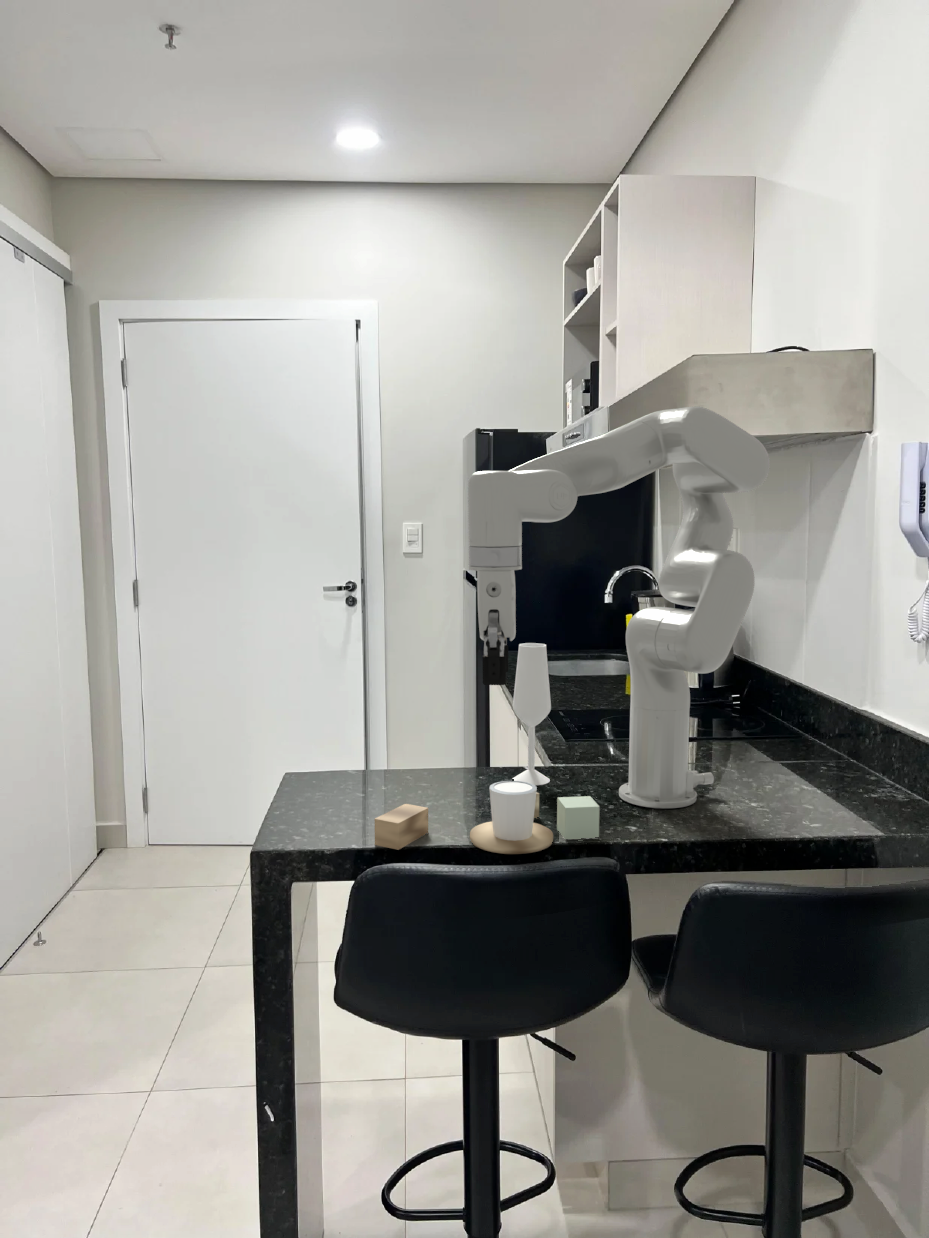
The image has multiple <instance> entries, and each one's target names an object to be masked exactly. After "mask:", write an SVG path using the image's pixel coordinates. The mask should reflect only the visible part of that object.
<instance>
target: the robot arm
mask: <svg viewBox="0 0 929 1238" xmlns="http://www.w3.org/2000/svg"><path fill="white" fill-rule="evenodd" d="M770 461H771V460H770V456H769V453H768V451H767V449H766V447H765V446H764V444H763V443H762V442H761V441H760V440H759V439H758V438H756V437H755V436H754V435H752V434H750V433H749V432H748V431H747V430H744V429H743V428H741V426H738V425H737V424H735V423H734V422H732V421H731V420H729V419H728V418H726V417H724V416H722V415H721V414H719V413H717V412H715V411H713V410H711V409H709V408H705V407H703V406H685V407H678V408H670V409H663V410H662V409H661V410H657V411H654V412H651V413H648V414H646V415H643V416H641V417H639V418H637V419H634V420H632V421H630V422H628V423H626V424H623V425H621V426H619V427H617V428H615V429H612V430H610V431H607V432H606V433H603V434H601V435H599V436H596V437H594V438H589V439H587V440H584V441H581V442H578V443H576V444H573V445H570V446H569V447H565V448H563V449H560V450H556V451H553V452H550V453H547V454H545V455H542V456H540V457H537V458H534V459H532V460H529V461H527V462H525V463H523V464H520V465H518V466H516V467H514V468H512V469H509V470H482V471H481V470H480V471H475V472H473V473H472V474H471V475H470V476H469V478H468V484H467V485H468V487H467V493H468V494H467V495H468V497H467V499H468V500H467V503H468V506H467V507H468V511H467V512H468V513H467V514H468V515H467V516H468V521H467V522H468V570H469V571H476V572H477V573H476V574H477V575H476V577H477V578H476V580H477V585H476V586H477V587H476V588H477V589H476V590H477V613H478V614H477V617H478V628H479V629H478V630H479V631H478V632H479V638H480V639H481V641H483V643H484V644H483V655H482V684H483V685H484V686H504V685H506V683H507V672H509V645H507V644H508V639H507V638H509V641H510V642H512V641H513V640H514V639H515V638H516V635H517V634H516V633H517V630H516V629H517V628H516V627H517V625H516V624H517V623H516V621H517V619H516V617H517V614H516V611H517V608H516V607H517V604H516V599H517V598H516V597H517V595H516V592H517V591H516V574H515V571H519V570H522V569H523V561H522V560H523V557H522V556H523V555H522V554H523V551H522V550H523V549H522V548H523V546H522V545H523V544H522V543H523V537H522V536H523V534H522V533H523V525H522V524H523V523H524V522H529V523H530V522H531V523H554V522H558V521H561V520H563V519H565V518H566V517H568V516H569V515H570V514H571V513H572V512H573V511H574V509H575V507H576V505H577V503H578V502H577V501H578V497H580V496H581V497H582V496H589V495H596V494H602V493H607V492H612V491H615V490H618V489H619V490H620V489H621V488H622V489H623V488H625V486H627V485H629V484H631V483H633V482H636V481H637V480H639V479H641V478H643V477H645V476H647V475H649V474H652V473H654V472H656V471H658V470H660V469H662V468H664V467H667V466H671V465H672V475H673V479H674V481H675V484H676V487H677V489H678V492H679V496H680V499H681V503H682V518H681V519H682V520H681V523H680V524H679V528H678V531H677V533H676V535H675V538H674V540H673V542H672V544H671V546H670V549H669V552H668V553H667V556H666V559H665V561H664V562H663V565H662V568H661V571H660V573H659V578H658V590H659V592H660V593H659V594H660V596H662V597H663V598H664V599H665V600H666V601H668V602H670V603H673V604H675V605H680V606H685V607H691V608H692V607H693V608H694V610H688V609H682V608H677V607H676V608H674V607H667V606H666V607H664V606H650V607H646V608H643V609H641V610H639V611H637V612H636V613H634V615H633V616H632V617H631V618H630V620H629V622H628V624H627V626H626V630H625V646H626V653H627V658H628V659H627V660H628V663H629V673H630V674H629V675H630V676H629V677H630V704H629V706H630V708H629V746H628V747H629V749H628V751H629V752H628V782H625V783H624V784H622V785H620V787H619V788H618V796H619V798H620V799H621V800H623V801H624V802H626V803H628V804H631V805H634V806H635V805H636V806H639V807H642V808H644V807H645V808H651V809H679V808H684V807H688V806H691V805H693V804H694V803H696V802H697V797H698V796H697V795H698V794H697V792H696V790H695V789H694V788H697V786H698V785H701V786H703V785H705V786H706V785H711V784H714V782H715V777H714V775H713V773H712V772H711V771H710V772H702V773H701V772H700V773H699V772H698V770H690V769H689V743H690V742H689V737H690V735H689V734H690V733H689V732H690V707H691V693H690V692H691V690H690V687H689V686H690V685H689V682H688V679H687V676H686V673H685V672H687V673H694V674H700V675H701V674H709V673H713V672H714V671H716V670H718V669H719V668H721V666H722V665H723V664H724V662H725V661H726V660H727V658H728V656H729V655H730V652H731V649H732V647H733V646H734V645H733V644H734V642H735V640H736V638H737V636H738V633H739V630H740V629H741V626H742V623H743V620H744V618H745V617H746V614H747V611H748V609H749V606H750V603H751V601H752V598H753V596H754V591H755V572H754V571H755V570H754V568H753V566H752V563H751V562H750V560H749V559H748V558H747V557H746V556H745V555H744V554H742V553H740V552H738V551H734V550H732V549H731V550H729V549H728V547H729V545H730V542H731V539H732V537H733V533H734V517H733V516H732V512H731V510H730V507H729V505H728V502H727V500H726V497H725V495H724V493H725V494H727V493H728V494H729V493H748V492H752V491H755V490H756V489H758V488H760V487H761V486H762V485H763V484H764V482H765V481H766V480H767V478H768V476H769V473H770V469H771V468H770V465H771V462H770Z"/></svg>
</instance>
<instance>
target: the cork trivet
mask: <svg viewBox="0 0 929 1238" xmlns="http://www.w3.org/2000/svg"><path fill="white" fill-rule="evenodd" d="M470 840H471V841H470ZM469 841H470V843H471V842H472V843H473V844H472V843H471V844H472V845H473V846H474V847H476V848H478V849H481V850H483V851H485V852H486V851H487V852H491V853H496V854H501V855H502V854H504V855H522V854H523V855H524V854H532V853H536V852H541V851H542V850H546V849H548V848H549V847H551V846H552V844H553V843H552V842H554V832H553V831H552V830H551V829H550V828H548V827H547V826H545V825H542V824H540V823H537V822H533V829H532V836H531V837H530V838H528V839H524V840H517V841H512V840H503V839H499V838H497V837H495V836H494V835H493V825H492V820H491V821H486V822H483V823H480V824H478V825H475V826H474V827H472V828H471V829H470V831H469Z"/></svg>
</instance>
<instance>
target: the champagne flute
mask: <svg viewBox="0 0 929 1238" xmlns="http://www.w3.org/2000/svg"><path fill="white" fill-rule="evenodd" d="M547 651H548V650H547V644H545V643H536V642H525V643H519V644H518V651H517V660H516V661H517V662H516V670H515V679H514V680H515V681H514V690H513V691H514V692H513V699H512V700H513V701H512V710H513V712H514V714H515V715H516V716H517V717H516V718H518V719H519V720H520V721H521V722H522V723H523V724H524V725H526V726H527V731H528V733H527V741H528V742H527V744H528V745H527V769H526V770H524V771H522V772H521V773H519V774H517V775H516V776H514V777H512V779H514V781H522V782H528V783H531V784H534V785H535V786H543V785H547V784H548V783H550V781H551V780H550V778H549V777H547V776H545V775H544V774H543V773H541V772H539V771H538V770H536V769H535V763H536V762H535V761H536V760H535V758H536V757H535V755H536V754H535V753H536V752H535V751H536V747H535V746H536V726H538V725H539V724H541V722H543V721H544V719H546V718H547V717H548V715H549V714H550V712H551V710H552V702H551V691H550V678H549V667H548V666H549V665H548V654H547V653H548V652H547Z"/></svg>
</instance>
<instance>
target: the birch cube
mask: <svg viewBox="0 0 929 1238" xmlns="http://www.w3.org/2000/svg"><path fill="white" fill-rule="evenodd" d="M537 817H539V818H540V793H539V792H537V791H536V800H535V810H534V818H536V819H538V818H537Z"/></svg>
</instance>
